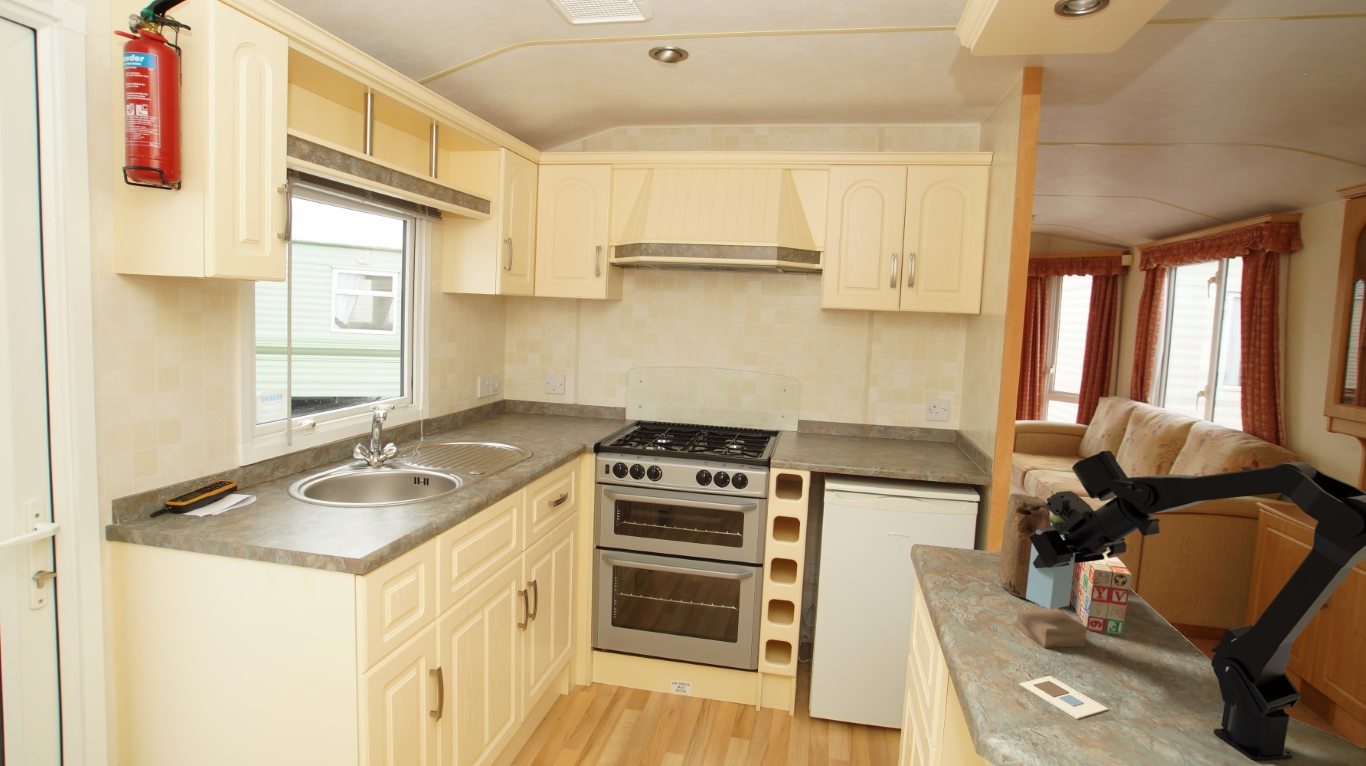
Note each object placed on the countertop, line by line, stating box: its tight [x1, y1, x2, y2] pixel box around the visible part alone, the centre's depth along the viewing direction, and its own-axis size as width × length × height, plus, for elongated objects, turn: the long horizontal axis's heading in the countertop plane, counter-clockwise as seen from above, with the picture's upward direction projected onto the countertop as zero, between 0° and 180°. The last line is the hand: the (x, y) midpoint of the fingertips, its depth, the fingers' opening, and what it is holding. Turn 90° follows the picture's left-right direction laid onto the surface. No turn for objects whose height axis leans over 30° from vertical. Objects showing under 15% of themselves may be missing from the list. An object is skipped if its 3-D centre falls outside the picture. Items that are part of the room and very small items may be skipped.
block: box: [999, 493, 1050, 599], centre depth 153 cm, size 11×8×20 cm
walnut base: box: [1015, 607, 1087, 649], centre depth 133 cm, size 8×8×4 cm
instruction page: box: [1019, 675, 1109, 720], centre depth 112 cm, size 10×7×1 cm
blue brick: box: [1025, 535, 1075, 609], centre depth 131 cm, size 5×5×12 cm
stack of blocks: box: [1070, 550, 1133, 636], centre depth 145 cm, size 21×6×12 cm, turn 164°
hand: (1045, 563), depth 132 cm, fingers closed on blue brick, 5 cm apart
